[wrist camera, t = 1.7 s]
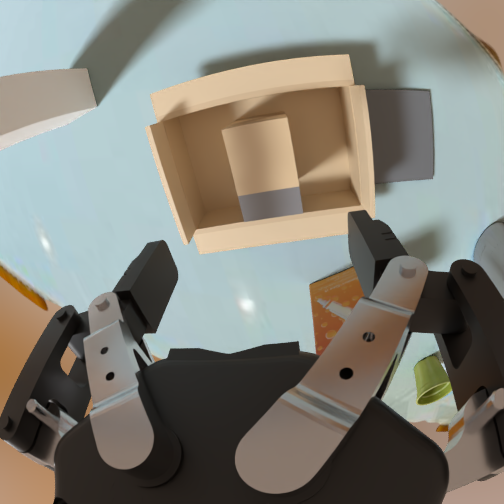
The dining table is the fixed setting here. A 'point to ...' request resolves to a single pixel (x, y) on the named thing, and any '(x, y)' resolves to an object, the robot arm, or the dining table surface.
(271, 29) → the dining table surface
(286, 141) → the block
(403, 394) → the dining table surface
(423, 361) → the plant pot
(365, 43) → the dining table surface
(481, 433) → the robot arm
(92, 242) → the dining table surface
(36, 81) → the milk
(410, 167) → the slate mat
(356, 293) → the small box
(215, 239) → the carton
